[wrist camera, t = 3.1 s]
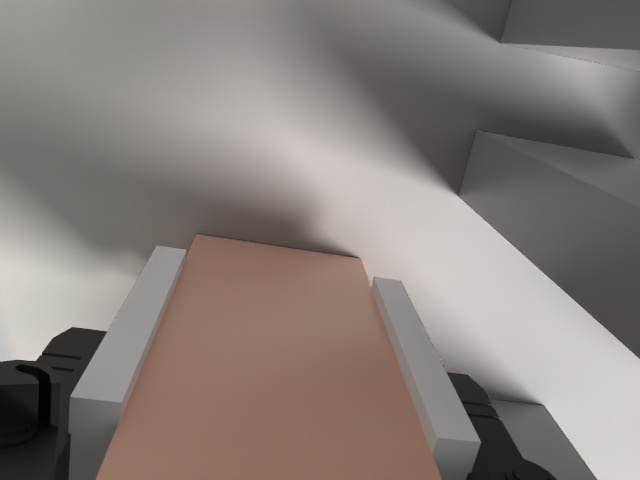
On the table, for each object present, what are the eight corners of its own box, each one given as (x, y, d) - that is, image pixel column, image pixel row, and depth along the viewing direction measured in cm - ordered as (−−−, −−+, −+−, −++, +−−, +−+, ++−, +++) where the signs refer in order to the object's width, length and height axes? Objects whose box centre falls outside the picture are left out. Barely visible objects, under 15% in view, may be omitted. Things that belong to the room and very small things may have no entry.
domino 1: (196, 233, 17) (94, 482, 8) (360, 258, 18) (455, 516, 8) (188, 294, 18) (86, 593, 8) (347, 316, 18) (421, 617, 9)
